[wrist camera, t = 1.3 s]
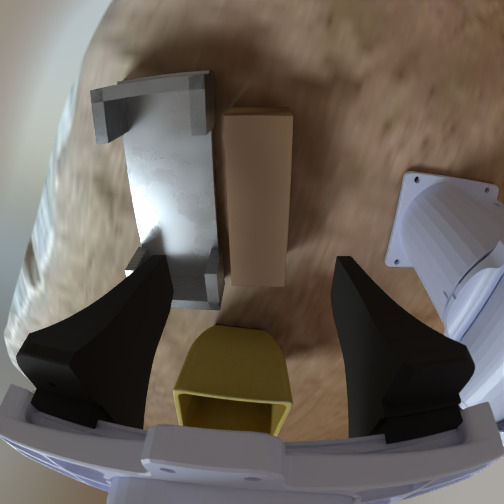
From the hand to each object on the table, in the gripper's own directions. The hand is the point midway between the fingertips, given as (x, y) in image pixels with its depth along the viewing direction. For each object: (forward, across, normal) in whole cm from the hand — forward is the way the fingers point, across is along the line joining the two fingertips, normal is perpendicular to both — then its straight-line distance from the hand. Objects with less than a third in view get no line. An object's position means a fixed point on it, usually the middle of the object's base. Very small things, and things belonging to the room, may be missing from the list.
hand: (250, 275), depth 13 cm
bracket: (+9, +6, 0) cm, 11 cm away
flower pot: (+10, +2, +16) cm, 19 cm away
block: (+10, 0, 0) cm, 10 cm away
